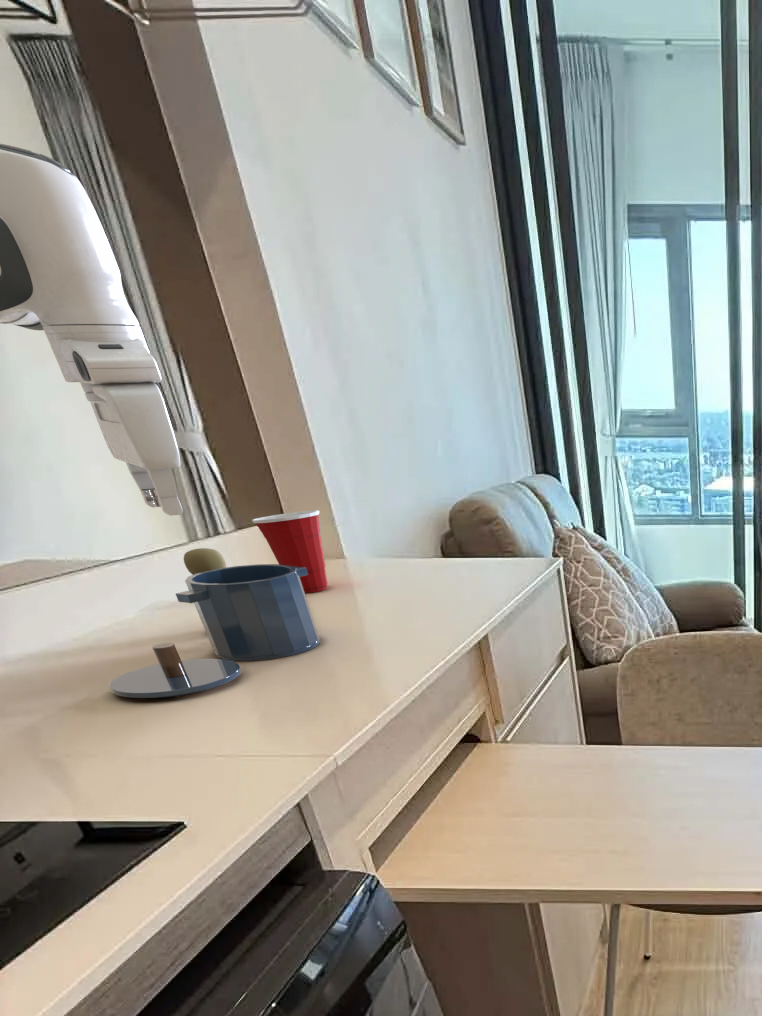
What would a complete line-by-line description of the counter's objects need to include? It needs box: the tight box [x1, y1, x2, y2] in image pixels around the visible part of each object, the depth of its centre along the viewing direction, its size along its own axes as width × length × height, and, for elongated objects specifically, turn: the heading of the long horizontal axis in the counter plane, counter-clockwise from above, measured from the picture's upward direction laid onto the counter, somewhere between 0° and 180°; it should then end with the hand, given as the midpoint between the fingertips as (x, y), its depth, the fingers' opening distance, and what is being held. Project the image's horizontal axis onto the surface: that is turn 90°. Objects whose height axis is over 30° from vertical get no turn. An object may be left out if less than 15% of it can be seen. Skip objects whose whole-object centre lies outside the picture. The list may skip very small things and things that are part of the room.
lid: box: [108, 642, 242, 699], centre depth 106 cm, size 15×15×5 cm
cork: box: [183, 547, 227, 575], centre depth 125 cm, size 6×6×11 cm
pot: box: [175, 563, 321, 662], centre depth 118 cm, size 14×19×10 cm
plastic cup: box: [251, 509, 328, 594], centre depth 148 cm, size 11×11×12 cm
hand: (165, 510), depth 99 cm, fingers open, 8 cm apart
